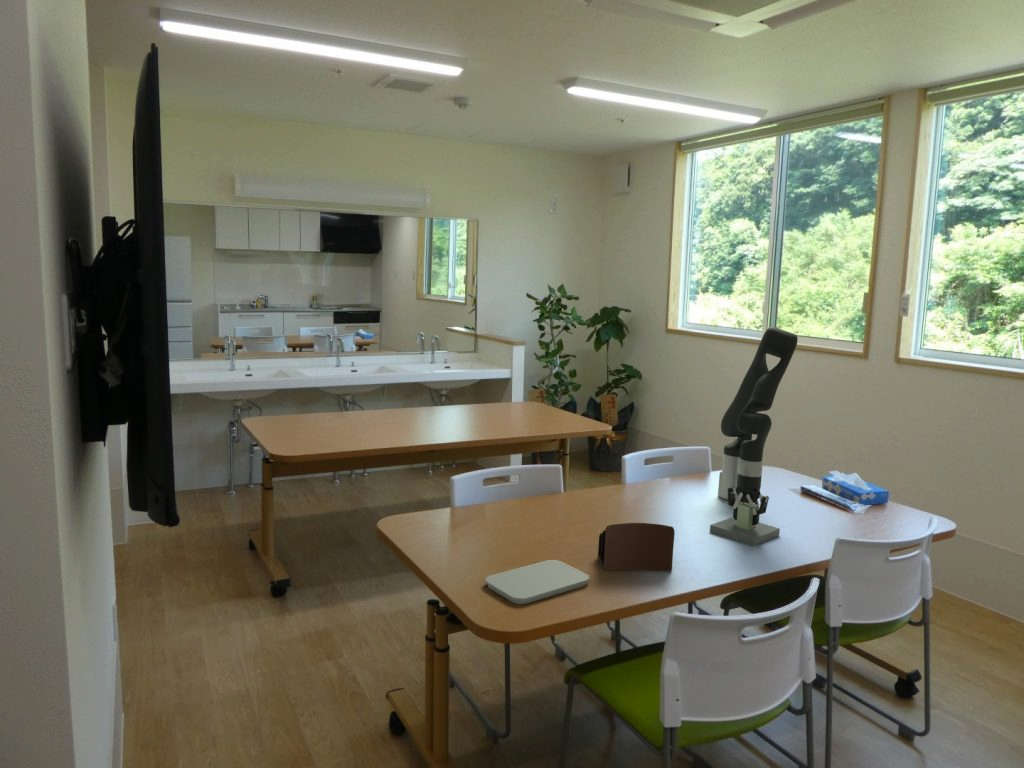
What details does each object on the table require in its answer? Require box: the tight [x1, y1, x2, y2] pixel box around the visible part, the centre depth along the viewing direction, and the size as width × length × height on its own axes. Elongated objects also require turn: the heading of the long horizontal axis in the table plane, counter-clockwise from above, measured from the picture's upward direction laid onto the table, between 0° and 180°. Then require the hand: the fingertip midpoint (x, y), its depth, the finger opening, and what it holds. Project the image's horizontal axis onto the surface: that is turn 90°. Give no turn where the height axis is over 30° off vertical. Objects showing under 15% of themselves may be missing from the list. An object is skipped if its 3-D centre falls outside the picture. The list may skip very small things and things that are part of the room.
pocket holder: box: [709, 516, 781, 547], centre depth 246 cm, size 16×16×2 cm
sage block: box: [736, 503, 754, 530], centre depth 245 cm, size 4×4×10 cm
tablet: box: [484, 559, 590, 605], centre depth 200 cm, size 16×26×2 cm, turn 128°
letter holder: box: [597, 522, 676, 572], centre depth 215 cm, size 10×20×14 cm, turn 93°
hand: (745, 522), depth 245 cm, fingers open, 6 cm apart
